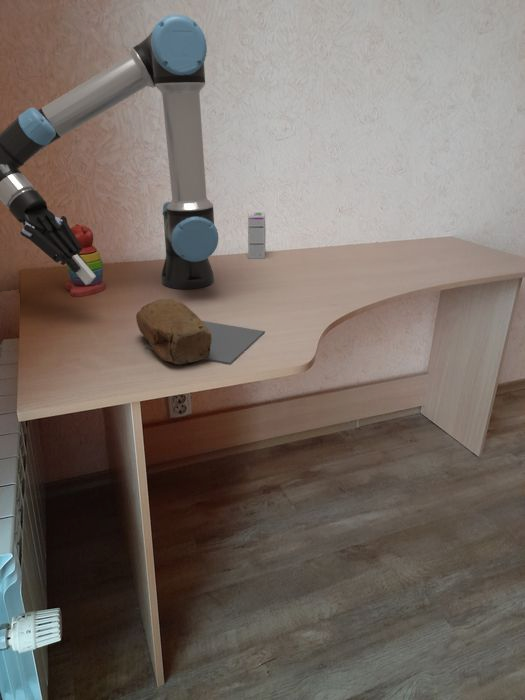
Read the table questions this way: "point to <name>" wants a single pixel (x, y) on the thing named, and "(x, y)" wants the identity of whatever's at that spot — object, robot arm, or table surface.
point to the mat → (228, 341)
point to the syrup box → (256, 235)
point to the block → (174, 331)
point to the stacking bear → (93, 262)
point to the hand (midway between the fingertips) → (91, 280)
